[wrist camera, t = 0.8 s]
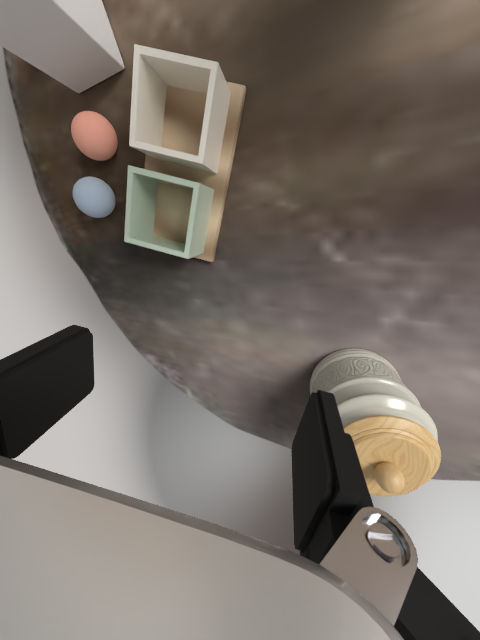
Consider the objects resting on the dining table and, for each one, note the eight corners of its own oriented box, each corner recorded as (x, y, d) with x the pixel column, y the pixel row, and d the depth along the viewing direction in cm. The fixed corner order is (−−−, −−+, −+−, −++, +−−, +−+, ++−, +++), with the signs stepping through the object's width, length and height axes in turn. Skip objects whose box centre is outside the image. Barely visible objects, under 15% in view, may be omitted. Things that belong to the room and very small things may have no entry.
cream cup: (162, 77, 29) (134, 44, 24) (231, 92, 29) (218, 62, 23) (155, 158, 32) (129, 145, 27) (217, 173, 32) (202, 163, 26)
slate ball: (90, 175, 36) (62, 169, 31) (123, 184, 35) (99, 178, 31) (90, 213, 38) (63, 212, 33) (122, 221, 37) (99, 221, 33)
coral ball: (90, 115, 33) (59, 98, 28) (126, 124, 33) (100, 108, 28) (90, 159, 35) (61, 150, 30) (124, 168, 35) (100, 160, 30)
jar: (344, 330, 38) (389, 412, 21) (415, 375, 38) (510, 489, 22) (292, 388, 43) (297, 490, 26) (355, 427, 43) (397, 550, 27)
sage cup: (154, 174, 33) (128, 165, 28) (214, 189, 33) (199, 183, 27) (148, 238, 36) (124, 241, 31) (203, 253, 36) (188, 259, 30)
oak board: (157, 70, 30) (152, 64, 29) (246, 90, 29) (244, 85, 28) (143, 241, 38) (139, 242, 37) (213, 260, 37) (211, 262, 36)
